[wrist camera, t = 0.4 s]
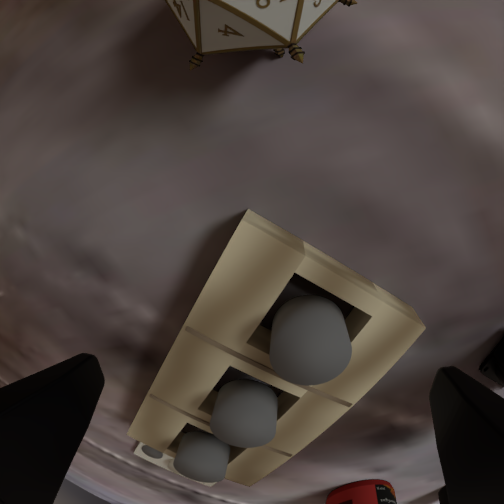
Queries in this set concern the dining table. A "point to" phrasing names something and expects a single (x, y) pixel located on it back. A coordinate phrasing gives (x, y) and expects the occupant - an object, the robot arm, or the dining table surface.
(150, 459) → the card
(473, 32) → the dining table surface
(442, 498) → the drinking cup
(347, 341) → the button
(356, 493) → the canned food
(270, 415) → the button middle
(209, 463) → the button
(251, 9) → the game die
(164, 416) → the board
